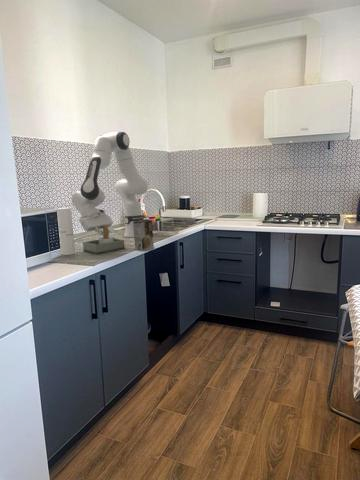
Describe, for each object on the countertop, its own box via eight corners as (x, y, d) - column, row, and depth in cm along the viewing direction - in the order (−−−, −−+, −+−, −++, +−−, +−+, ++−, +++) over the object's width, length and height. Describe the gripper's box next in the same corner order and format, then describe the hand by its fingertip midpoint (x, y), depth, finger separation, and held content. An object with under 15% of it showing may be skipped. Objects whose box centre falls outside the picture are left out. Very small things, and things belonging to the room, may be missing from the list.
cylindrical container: (63, 252, 201) (59, 207, 196) (76, 251, 201) (72, 207, 197) (60, 255, 194) (55, 209, 189) (73, 254, 194) (69, 208, 190)
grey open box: (110, 245, 216) (109, 234, 214) (124, 248, 205) (123, 236, 204) (83, 250, 204) (82, 238, 202) (96, 254, 193) (95, 241, 192)
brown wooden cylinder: (107, 247, 204) (106, 225, 203) (110, 248, 202) (109, 225, 200) (102, 248, 202) (101, 225, 200) (105, 249, 200) (104, 225, 198)
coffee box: (145, 247, 207) (144, 219, 204) (154, 248, 203) (152, 220, 200) (134, 250, 200) (132, 221, 198) (142, 251, 196) (140, 222, 194)
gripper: (79, 213, 194) (94, 232, 191) (106, 209, 211) (120, 227, 208) (74, 221, 197) (89, 240, 194) (101, 217, 214) (114, 234, 211)
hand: (105, 233), depth 201 cm, fingers open, 4 cm apart
